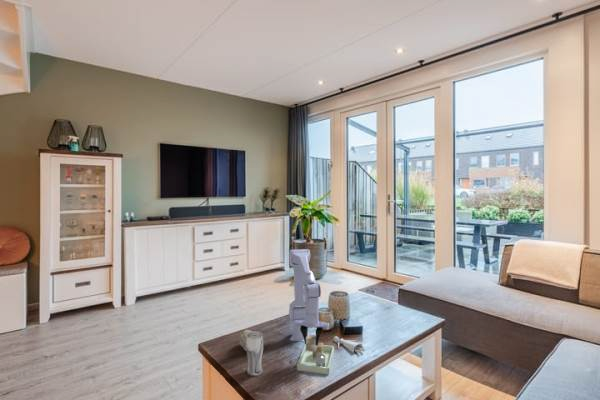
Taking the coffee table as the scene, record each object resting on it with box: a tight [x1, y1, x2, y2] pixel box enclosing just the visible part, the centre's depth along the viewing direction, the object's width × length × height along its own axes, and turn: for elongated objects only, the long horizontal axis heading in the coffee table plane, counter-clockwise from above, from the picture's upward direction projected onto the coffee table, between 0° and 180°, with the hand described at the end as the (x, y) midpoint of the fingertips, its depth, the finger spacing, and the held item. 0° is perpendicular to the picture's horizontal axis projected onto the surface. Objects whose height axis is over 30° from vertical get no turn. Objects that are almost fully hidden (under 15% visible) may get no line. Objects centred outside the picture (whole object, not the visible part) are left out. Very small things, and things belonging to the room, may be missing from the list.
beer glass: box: [245, 330, 264, 377], centre depth 126 cm, size 7×7×15 cm
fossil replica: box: [239, 329, 254, 352], centre depth 144 cm, size 12×8×10 cm
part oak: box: [313, 342, 324, 358], centre depth 137 cm, size 4×4×5 cm
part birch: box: [306, 333, 317, 351], centre depth 132 cm, size 4×4×5 cm
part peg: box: [315, 354, 325, 367], centre depth 127 cm, size 4×4×5 cm
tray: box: [296, 343, 335, 376], centre depth 133 cm, size 18×13×3 cm
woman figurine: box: [333, 335, 365, 354], centre depth 146 cm, size 12×4×18 cm
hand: (311, 343), depth 132 cm, fingers closed on part birch, 4 cm apart
